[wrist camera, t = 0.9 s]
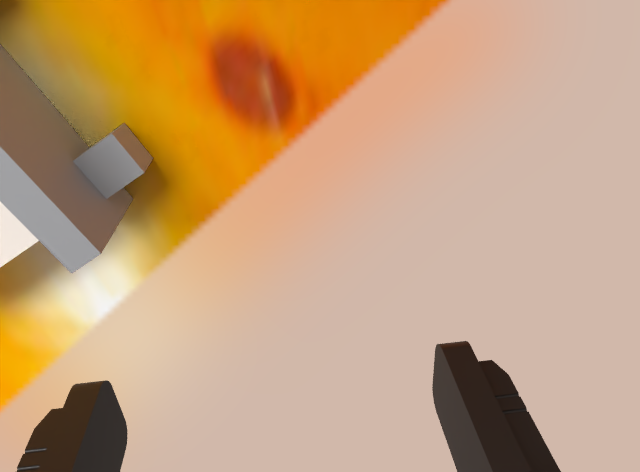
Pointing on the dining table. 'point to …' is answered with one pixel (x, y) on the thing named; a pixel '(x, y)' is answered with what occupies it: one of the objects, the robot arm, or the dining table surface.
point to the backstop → (61, 172)
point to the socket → (13, 236)
